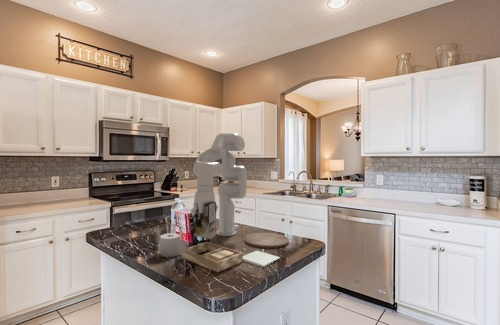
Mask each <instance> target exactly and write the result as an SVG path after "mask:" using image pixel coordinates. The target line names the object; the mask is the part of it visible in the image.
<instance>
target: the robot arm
mask: <svg viewBox="0 0 500 325" xmlns="http://www.w3.org/2000/svg"><path fill="white" fill-rule="evenodd" d="M245 145H246V143H245V139H244V138H243V137H242V136H241V135H240V134H238V133H235V132H234V133H233V132H231V133H229V132H228V133H227V132H226V133H224V132H223V133H219V134H217V135H216V136H215V138H214V141H213V143H212V145H211V147H210V148H208V149H206V150H204V151H203V152H201V153H199V155H198V156H197V158H196V159H195V161H194V163H193V164H194V165H193V168H192V171H193V174H194V175H195V176H197V177H196V178H197V180H196V181H197V182H196V186H197V187H196V191H195V194H194V200H193V208H192V209H191V210H190V213H191V215H192V217H193V219H194V218H196V227H199V228H200V227H201V219H200V217H201V215H202V213H203V212H204V204H207V203H211V202H216V197H215V191H214V188H215V185H214V178H215V177H216V178H217V177H219V176H220V175H221V179H222V180H223V181H229V182H222V183H220V184H219V185H218V187H217V191H218V192H217V193H218V200H219V202H218V204H216V212H217V211H218V210H219V211H218V230H216V235H218V236H221V237H230V236H235V235H236V234H237V230H236V229H239V228H240V225H239V224H235V203H234V201H233V199H234V200H235V199H237V200H241V199H245V197H246V196H247V180H248V172H247V171H248V170H247V169H246V167H245V166H244V165H236V156H235V155H234V153H233V152H241V151H243V150H244V149H245ZM218 160H221V163H220V162H219V161H218ZM197 209H198V210H199V212H198V210H197ZM196 210H197V212H196V213H195V211H196ZM198 214H199V215H198Z"/></svg>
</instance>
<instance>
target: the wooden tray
mask: <svg viewBox="0 0 500 325" xmlns="http://www.w3.org/2000/svg"><path fill="white" fill-rule="evenodd" d="M223 250H227V251H230V252H233V253H235V255H233V256H231V257H228V258H226V259H223V260H221V261H215V260H212V259H210V255H211V254H214V253H217V252H220V251H223ZM206 251H209V252H206ZM203 252H205V253H203ZM200 253H203V254H200ZM243 256H244V253H243V252H242V251H239V250H236V249H233V248H229V247H225V246H222V245H219V244H215V243H213V242H209V241H205V242H203V243H202V242H201V243H199V244H195V245H192V246H189V247H188V246H187V248H185V249H182V255H181V258H182V259H184V260H186V261H189V262H191V263H194V264H196V265H199V266H202V267H204V268H206V269H209V270H211V271H214V272H217V273H219V272H222V271H224V270H226V269H228V268H230V267H234V266H235V265H237V264H240V263H242V262H244V261H243Z"/></svg>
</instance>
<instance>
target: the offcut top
mask: <svg viewBox="0 0 500 325" xmlns="http://www.w3.org/2000/svg"><path fill="white" fill-rule="evenodd" d="M233 255H235V253H233V252H230V251H227V250H223V251H220V252H217V253H214V254H211V255H210V259H212V260H215V261H221V260H223V259H226V258H228V257H231V256H233Z"/></svg>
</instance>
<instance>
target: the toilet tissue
mask: <svg viewBox="0 0 500 325" xmlns="http://www.w3.org/2000/svg"><path fill="white" fill-rule="evenodd" d="M159 237H160V238H159V242H160V243H159V256H161V257H165V258H167V257H168V258H169V257H176V256H182V249H185V248H188V241H186V240H183V239H181V238H180V237H181V235H180V234H179V233H171V232H170V233H164V234H161V235H160V236H159Z"/></svg>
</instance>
